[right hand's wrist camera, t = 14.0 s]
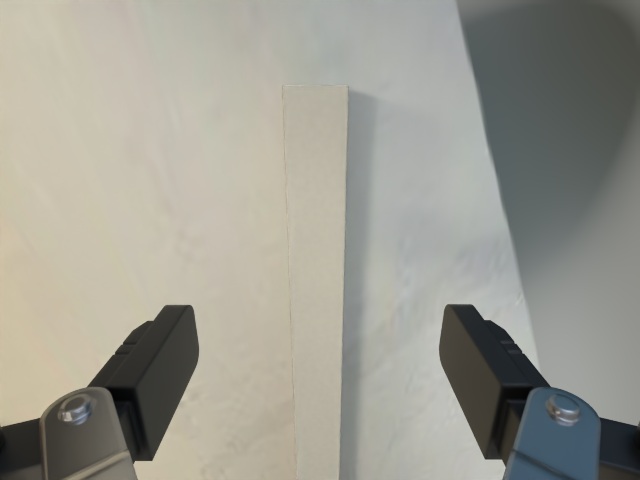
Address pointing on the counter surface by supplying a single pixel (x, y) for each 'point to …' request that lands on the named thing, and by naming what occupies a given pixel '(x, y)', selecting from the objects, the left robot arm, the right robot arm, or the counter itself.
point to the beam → (316, 268)
